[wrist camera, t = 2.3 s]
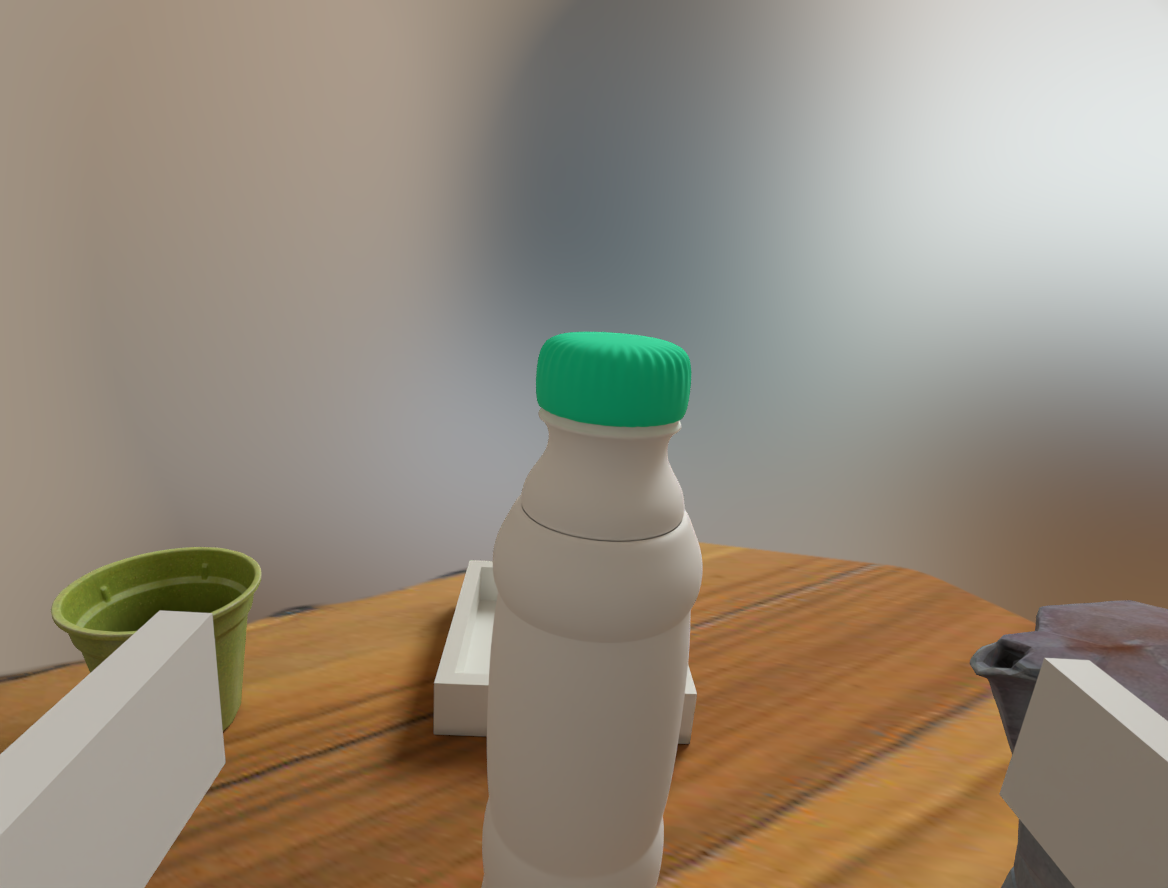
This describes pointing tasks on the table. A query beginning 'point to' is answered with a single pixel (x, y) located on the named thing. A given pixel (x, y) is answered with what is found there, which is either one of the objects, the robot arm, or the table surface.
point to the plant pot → (165, 606)
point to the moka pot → (1083, 632)
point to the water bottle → (591, 624)
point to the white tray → (487, 662)
